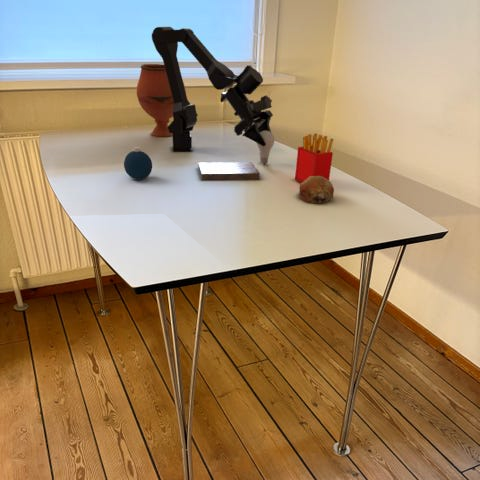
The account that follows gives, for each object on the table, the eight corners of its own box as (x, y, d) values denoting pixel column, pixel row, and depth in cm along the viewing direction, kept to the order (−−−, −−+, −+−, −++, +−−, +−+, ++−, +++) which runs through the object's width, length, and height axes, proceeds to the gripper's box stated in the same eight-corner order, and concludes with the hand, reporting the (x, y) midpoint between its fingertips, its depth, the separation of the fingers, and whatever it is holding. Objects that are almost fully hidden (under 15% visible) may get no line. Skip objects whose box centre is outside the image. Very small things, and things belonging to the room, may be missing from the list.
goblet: (184, 140, 192) (182, 69, 179) (135, 138, 192) (129, 67, 178) (189, 130, 208) (187, 64, 195) (143, 128, 208) (139, 61, 194)
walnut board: (201, 180, 151) (201, 173, 150) (198, 169, 161) (198, 162, 160) (258, 179, 154) (259, 173, 153) (252, 168, 164) (252, 162, 163)
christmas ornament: (158, 178, 151) (157, 145, 146) (138, 185, 145) (136, 150, 140) (139, 173, 155) (137, 140, 150) (119, 179, 149) (116, 145, 144)
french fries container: (311, 177, 158) (317, 132, 151) (329, 185, 152) (336, 138, 144) (293, 180, 155) (298, 133, 148) (311, 188, 149) (317, 140, 141)
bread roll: (332, 209, 145) (338, 181, 144) (328, 204, 135) (334, 175, 134) (299, 204, 147) (304, 176, 146) (293, 199, 137) (299, 170, 136)
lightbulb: (273, 167, 166) (275, 133, 160) (255, 166, 166) (256, 132, 160) (272, 162, 172) (274, 129, 166) (254, 161, 172) (256, 128, 166)
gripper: (244, 90, 150) (274, 133, 152) (269, 84, 164) (296, 123, 166) (221, 114, 158) (250, 155, 160) (247, 106, 172) (273, 143, 174)
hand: (268, 143), depth 165 cm, fingers closed on lightbulb, 6 cm apart
